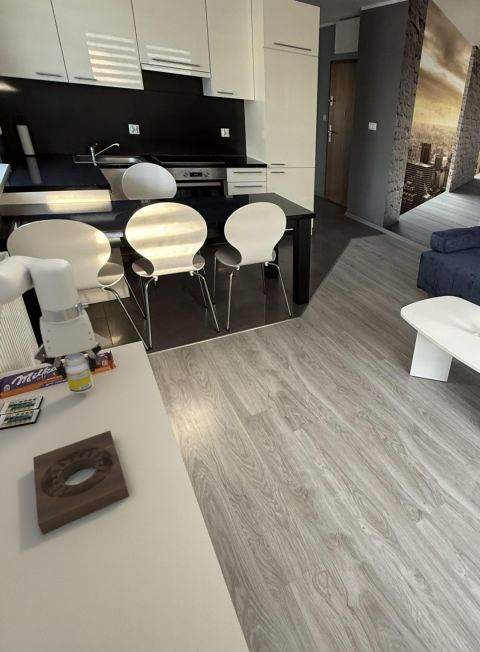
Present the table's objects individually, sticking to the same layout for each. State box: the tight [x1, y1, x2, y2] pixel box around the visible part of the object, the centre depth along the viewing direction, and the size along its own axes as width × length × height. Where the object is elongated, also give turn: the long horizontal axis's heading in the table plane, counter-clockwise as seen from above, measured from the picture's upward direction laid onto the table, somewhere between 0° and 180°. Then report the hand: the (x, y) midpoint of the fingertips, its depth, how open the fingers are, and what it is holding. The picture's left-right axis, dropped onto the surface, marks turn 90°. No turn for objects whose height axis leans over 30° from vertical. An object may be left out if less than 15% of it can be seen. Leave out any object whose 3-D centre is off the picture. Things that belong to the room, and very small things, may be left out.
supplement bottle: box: [63, 352, 95, 394], centre depth 102 cm, size 5×5×10 cm
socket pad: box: [32, 430, 130, 535], centre depth 81 cm, size 18×14×3 cm
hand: (78, 372), depth 102 cm, fingers closed on supplement bottle, 5 cm apart
